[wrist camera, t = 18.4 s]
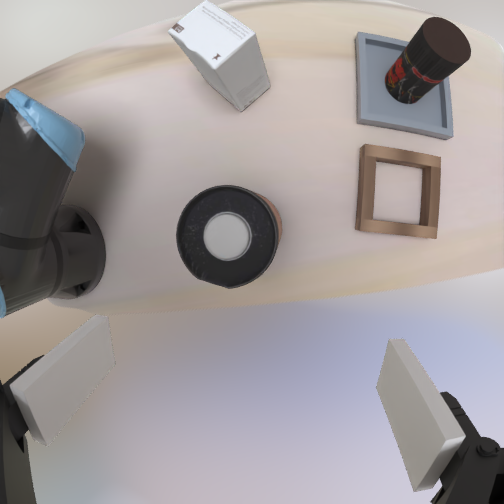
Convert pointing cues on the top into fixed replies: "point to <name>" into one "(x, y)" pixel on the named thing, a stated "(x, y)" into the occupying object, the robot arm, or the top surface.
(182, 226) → the travel mug
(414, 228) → the frame
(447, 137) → the slate tray
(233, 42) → the skincare box
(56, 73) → the top surface
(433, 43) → the deodorant
